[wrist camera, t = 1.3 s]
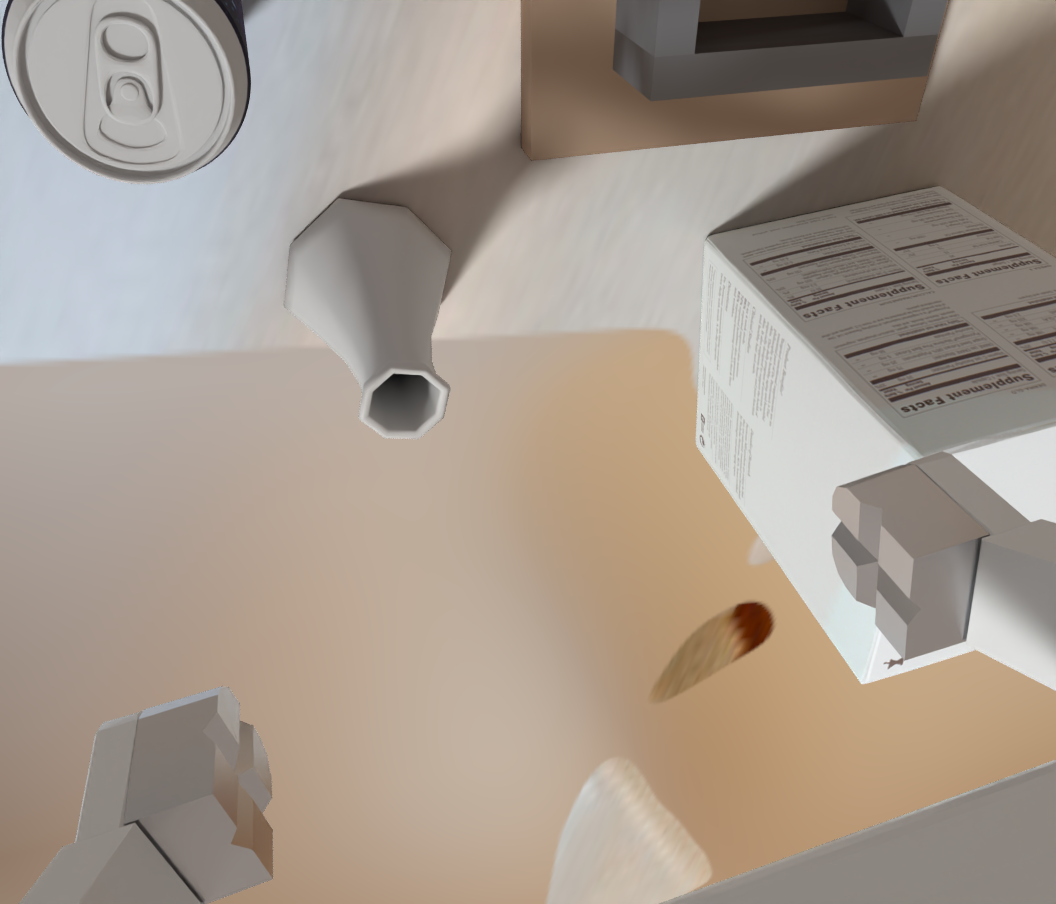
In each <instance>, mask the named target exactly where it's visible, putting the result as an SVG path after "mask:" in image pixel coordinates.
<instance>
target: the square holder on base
mask: <svg viewBox="0 0 1056 904" xmlns="http://www.w3.org/2000/svg"><path fill="white" fill-rule="evenodd" d="M948 3H949V0H521V148H522V149H523V151H524V152H525V153H526V154H527V156H528V157H529V158H530V160H531V161H533V160H542V159H552V158H562V157H571V156H581V155H591V154H600V153H610V152H620V151H629V150H639V149H649V148H658V147H668V146H678V145H687V144H697V143H707V142H716V141H726V140H736V139H745V138H755V137H765V136H774V135H784V134H794V133H803V132H813V131H823V130H832V129H842V128H852V127H861V126H871V125H881V124H890V123H900V122H910V121H916V120H917V116H918V112H919V109H920V105H921V101H922V98H923V94H924V90H925V87H926V83H927V79H928V76H929V72H930V68H931V65H932V61H933V57H934V54H935V50H936V46H937V43H938V39H939V35H940V32H941V28H942V25H943V21H944V17H945V14H946V10H947V6H948Z"/></svg>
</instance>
